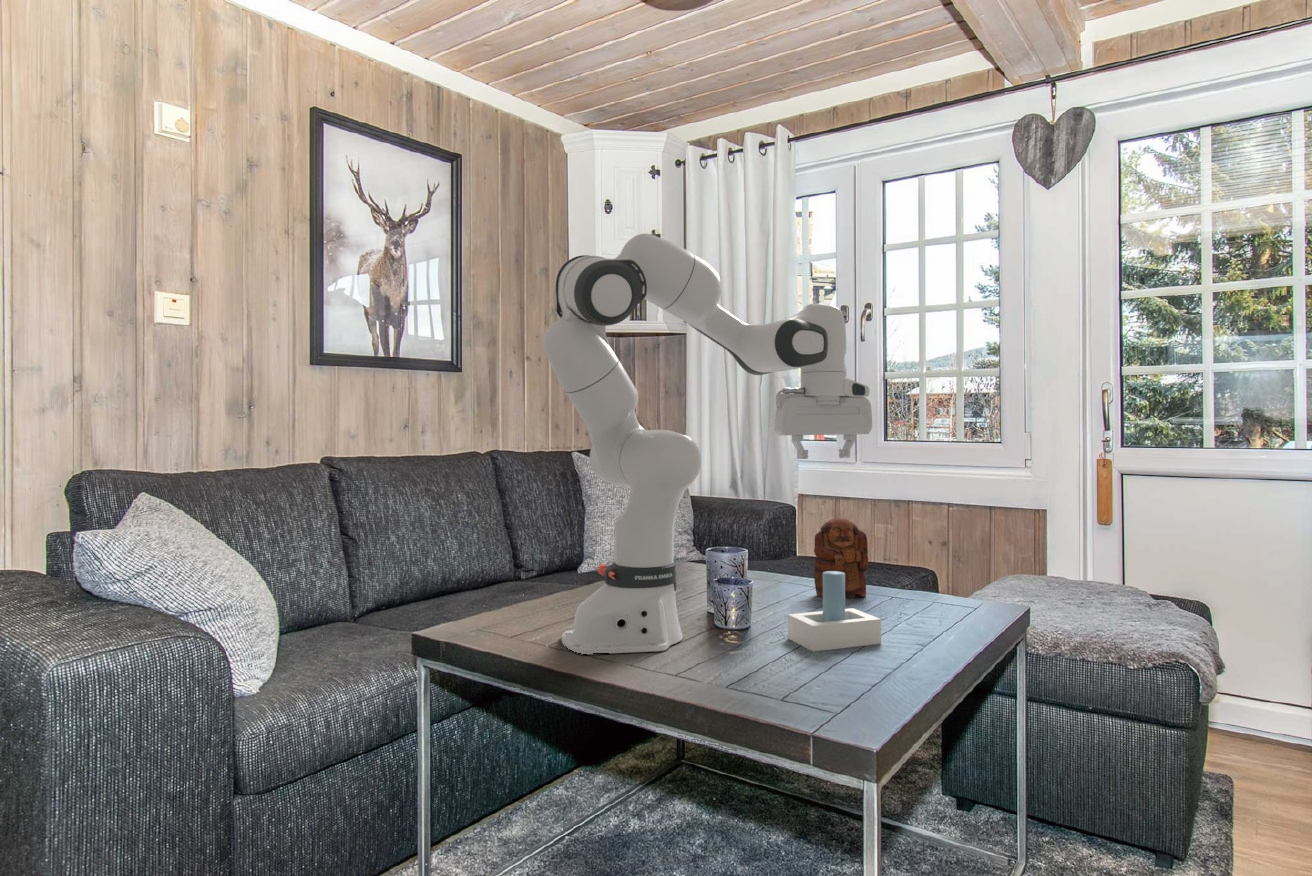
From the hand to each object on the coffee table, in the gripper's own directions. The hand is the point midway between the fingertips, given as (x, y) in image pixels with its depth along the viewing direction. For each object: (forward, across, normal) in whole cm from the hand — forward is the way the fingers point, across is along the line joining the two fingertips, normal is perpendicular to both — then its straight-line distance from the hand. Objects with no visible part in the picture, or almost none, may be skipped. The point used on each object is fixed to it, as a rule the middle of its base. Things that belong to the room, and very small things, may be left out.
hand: (823, 458), depth 154 cm
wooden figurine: (+33, +18, +22) cm, 44 cm away
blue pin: (+33, -4, -10) cm, 34 cm away
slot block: (+33, -4, -10) cm, 35 cm away
